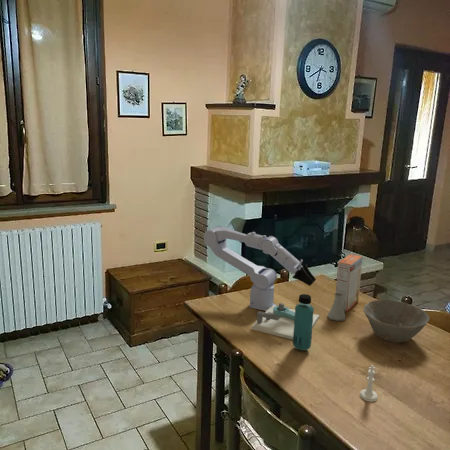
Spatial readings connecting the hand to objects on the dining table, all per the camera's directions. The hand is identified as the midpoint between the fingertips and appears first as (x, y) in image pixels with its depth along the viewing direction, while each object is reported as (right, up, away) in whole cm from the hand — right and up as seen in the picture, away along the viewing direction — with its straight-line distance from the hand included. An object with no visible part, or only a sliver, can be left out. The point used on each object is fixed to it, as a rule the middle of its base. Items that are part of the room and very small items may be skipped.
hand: (313, 282), depth 173 cm
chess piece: (+7, -27, -45) cm, 53 cm away
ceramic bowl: (+27, -19, -10) cm, 35 cm away
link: (-8, -14, 0) cm, 16 cm away
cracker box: (+17, -12, +16) cm, 27 cm away
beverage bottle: (-8, -21, -20) cm, 30 cm away
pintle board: (-11, -16, -2) cm, 19 cm away
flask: (+10, -15, +5) cm, 19 cm away
